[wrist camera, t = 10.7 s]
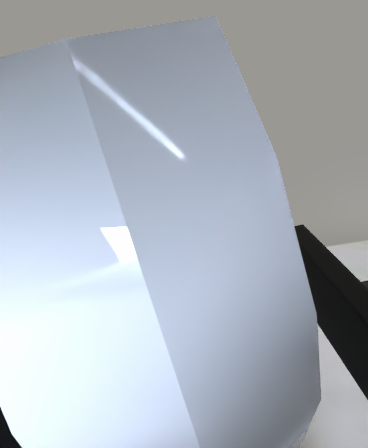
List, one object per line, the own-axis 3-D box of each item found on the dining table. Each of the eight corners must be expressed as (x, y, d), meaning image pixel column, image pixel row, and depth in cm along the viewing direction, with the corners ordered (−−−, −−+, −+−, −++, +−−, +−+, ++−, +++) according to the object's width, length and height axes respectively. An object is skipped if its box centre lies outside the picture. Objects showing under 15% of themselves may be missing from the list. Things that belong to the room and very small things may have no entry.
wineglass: (136, 479, 18) (-57, 109, 10) (270, 421, 20) (209, 46, 11) (167, 763, 11) (-747, 165, 2) (386, 635, 12) (506, -84, 3)
